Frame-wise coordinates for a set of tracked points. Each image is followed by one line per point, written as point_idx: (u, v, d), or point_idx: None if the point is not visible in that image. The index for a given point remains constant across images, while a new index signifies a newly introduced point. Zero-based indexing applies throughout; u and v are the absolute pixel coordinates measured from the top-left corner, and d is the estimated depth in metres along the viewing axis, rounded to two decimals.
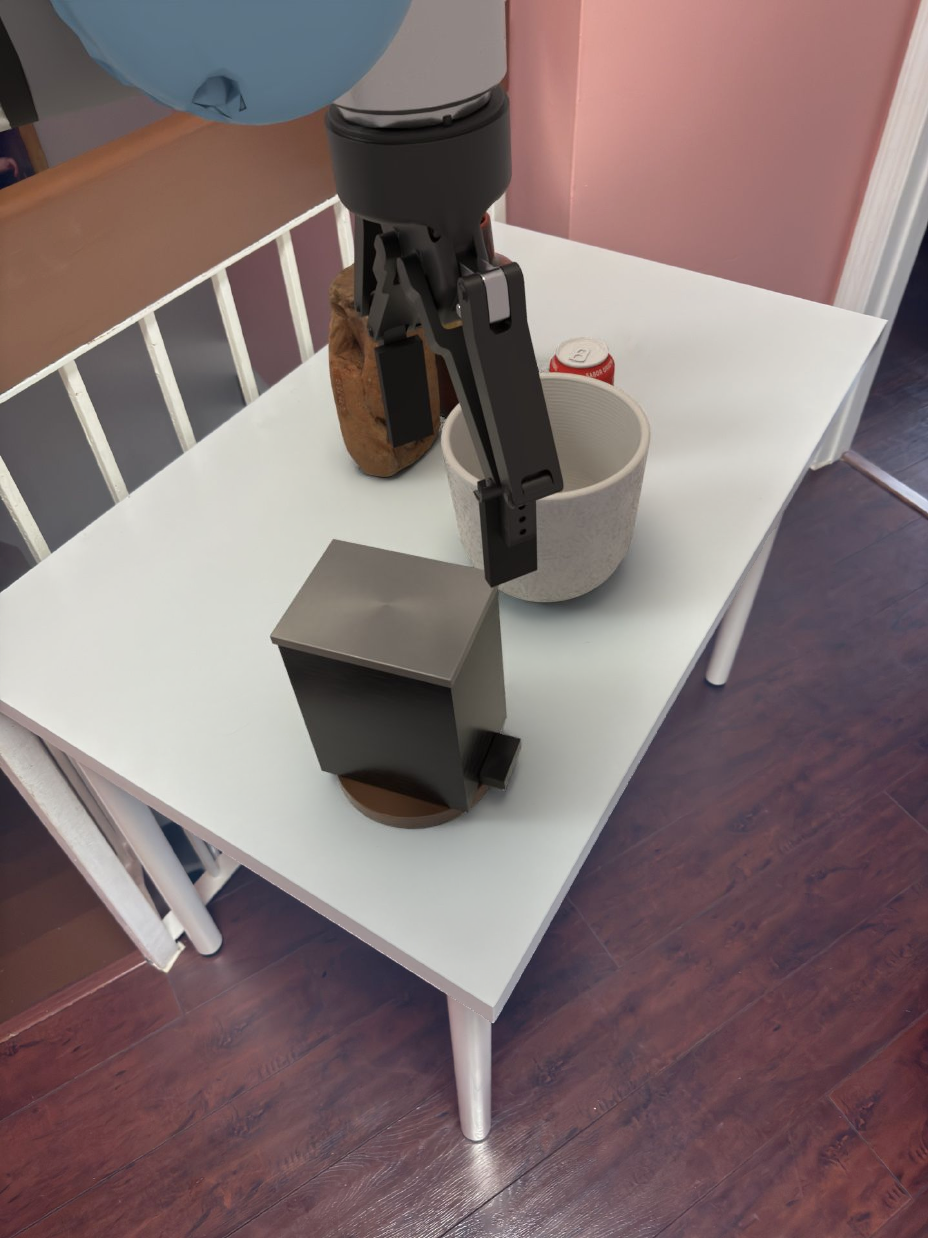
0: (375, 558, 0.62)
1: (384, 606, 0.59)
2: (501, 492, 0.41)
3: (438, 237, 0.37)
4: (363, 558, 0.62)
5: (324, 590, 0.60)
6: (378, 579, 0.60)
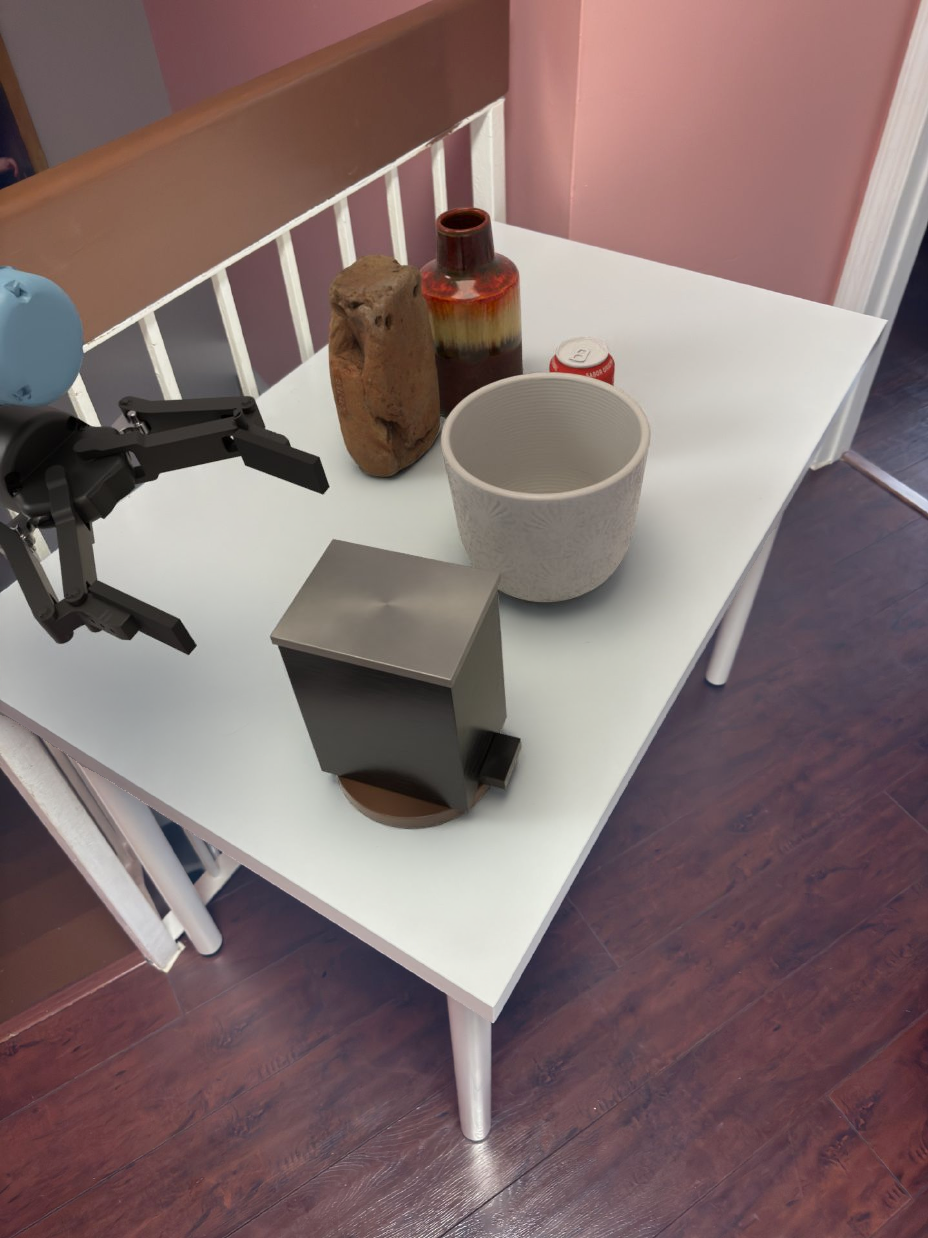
0: (375, 558, 0.62)
1: (384, 606, 0.59)
2: None
3: (89, 427, 0.61)
4: (363, 558, 0.62)
5: (324, 590, 0.60)
6: (378, 579, 0.60)
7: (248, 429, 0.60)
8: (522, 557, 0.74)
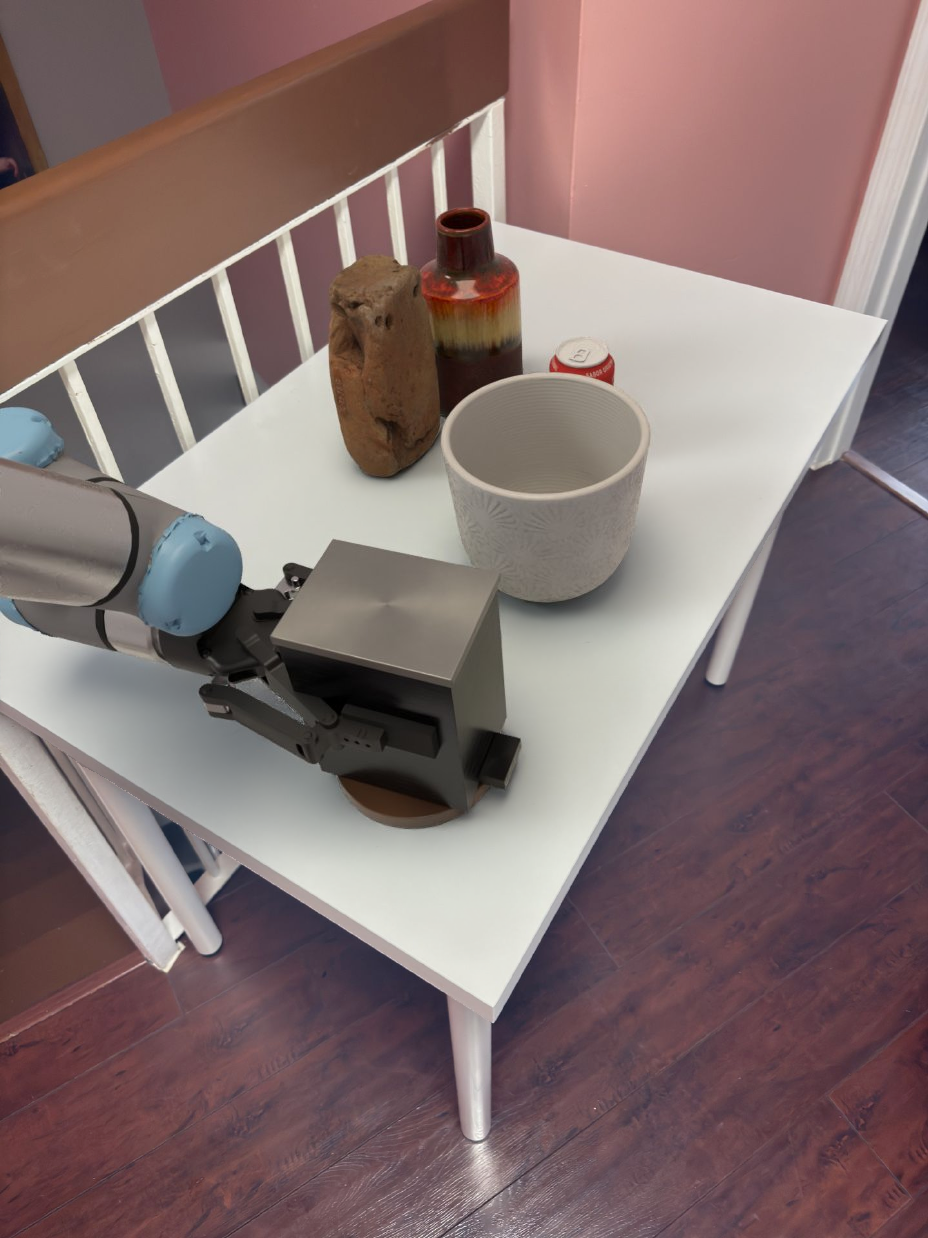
0: (375, 558, 0.62)
1: (384, 606, 0.59)
2: None
3: (252, 591, 0.69)
4: (363, 558, 0.62)
5: (324, 590, 0.60)
6: (378, 579, 0.60)
7: None
8: (522, 557, 0.74)
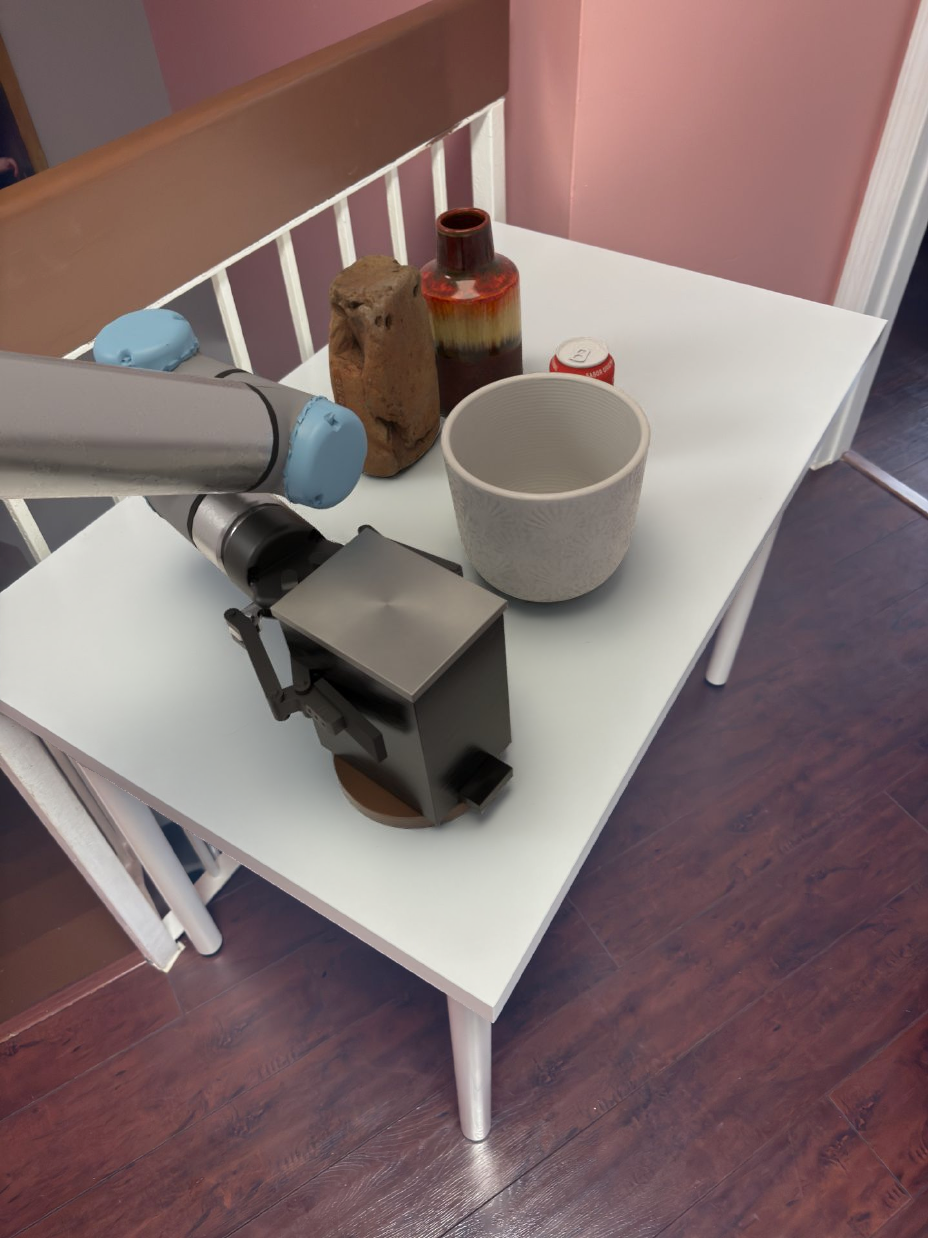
0: (396, 556, 0.62)
1: (383, 605, 0.59)
2: None
3: (324, 540, 0.72)
4: (385, 553, 0.62)
5: (336, 576, 0.61)
6: (389, 577, 0.60)
7: None
8: (522, 557, 0.74)
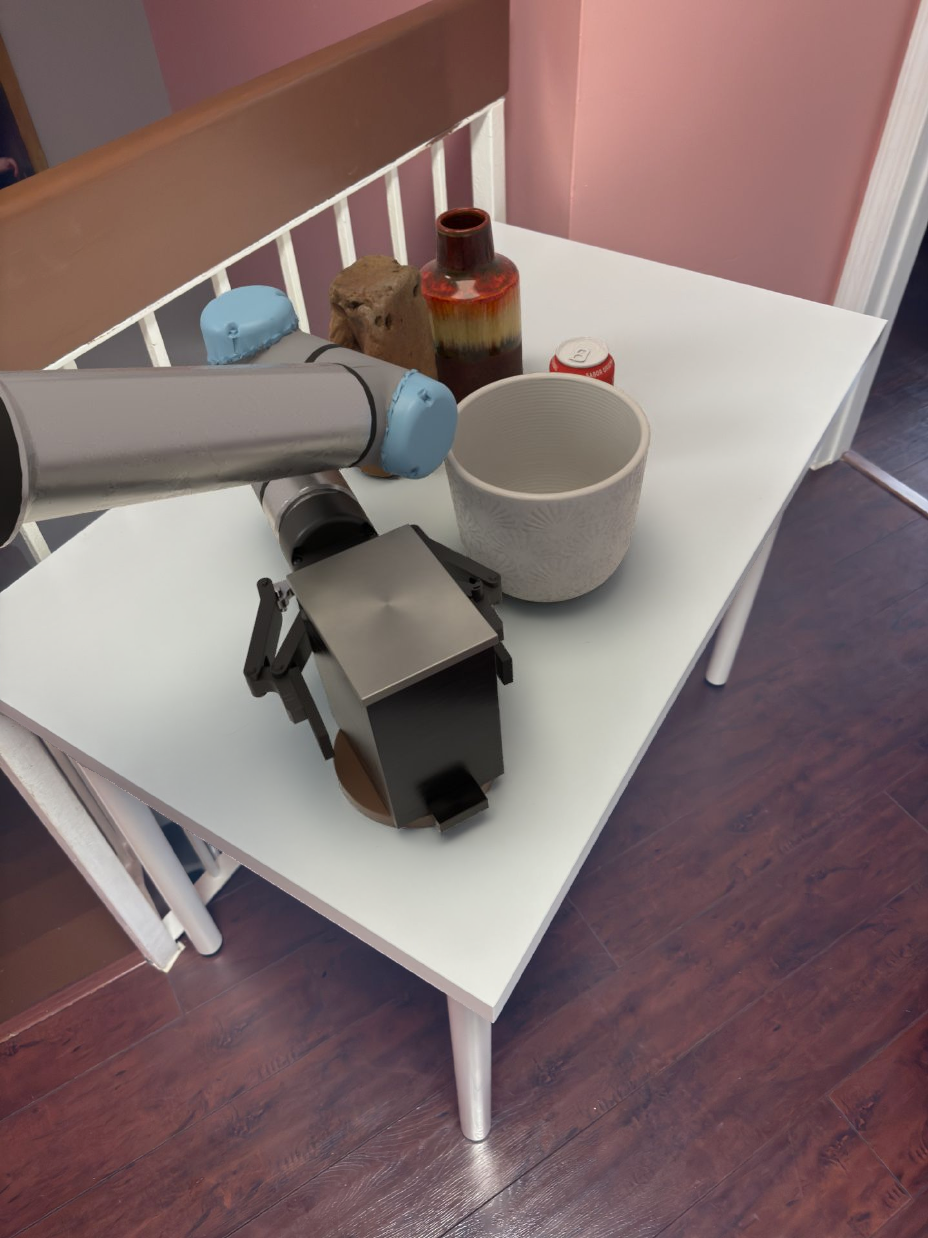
0: (419, 559, 0.61)
1: (383, 604, 0.59)
2: (483, 591, 0.68)
3: (375, 535, 0.73)
4: (411, 554, 0.62)
5: (357, 563, 0.62)
6: (403, 579, 0.60)
7: (480, 601, 0.68)
8: (522, 557, 0.74)
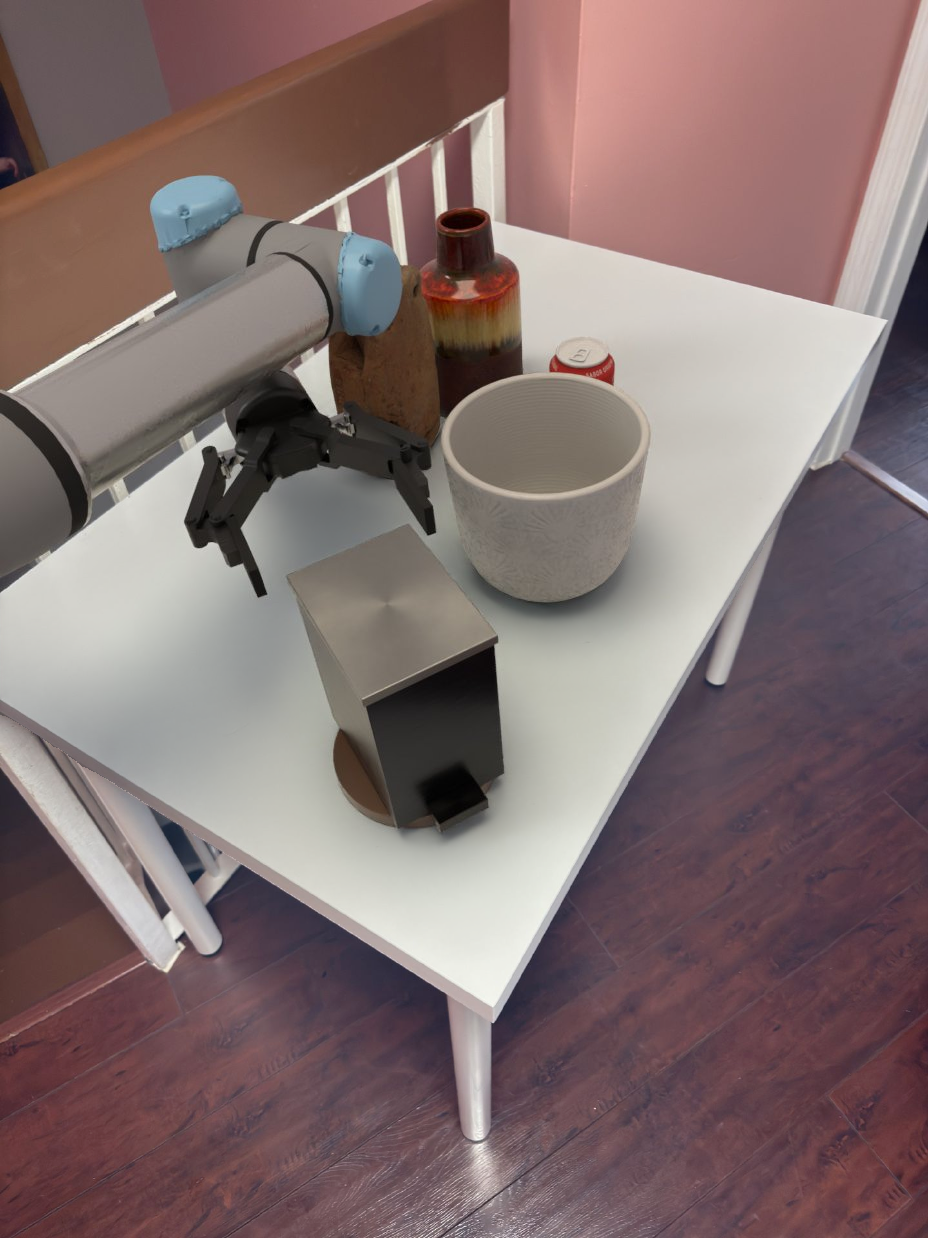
0: (419, 559, 0.61)
1: (383, 604, 0.59)
2: (411, 454, 0.73)
3: (315, 411, 0.78)
4: (411, 554, 0.62)
5: (357, 563, 0.62)
6: (403, 579, 0.60)
7: (409, 463, 0.73)
8: (522, 557, 0.74)
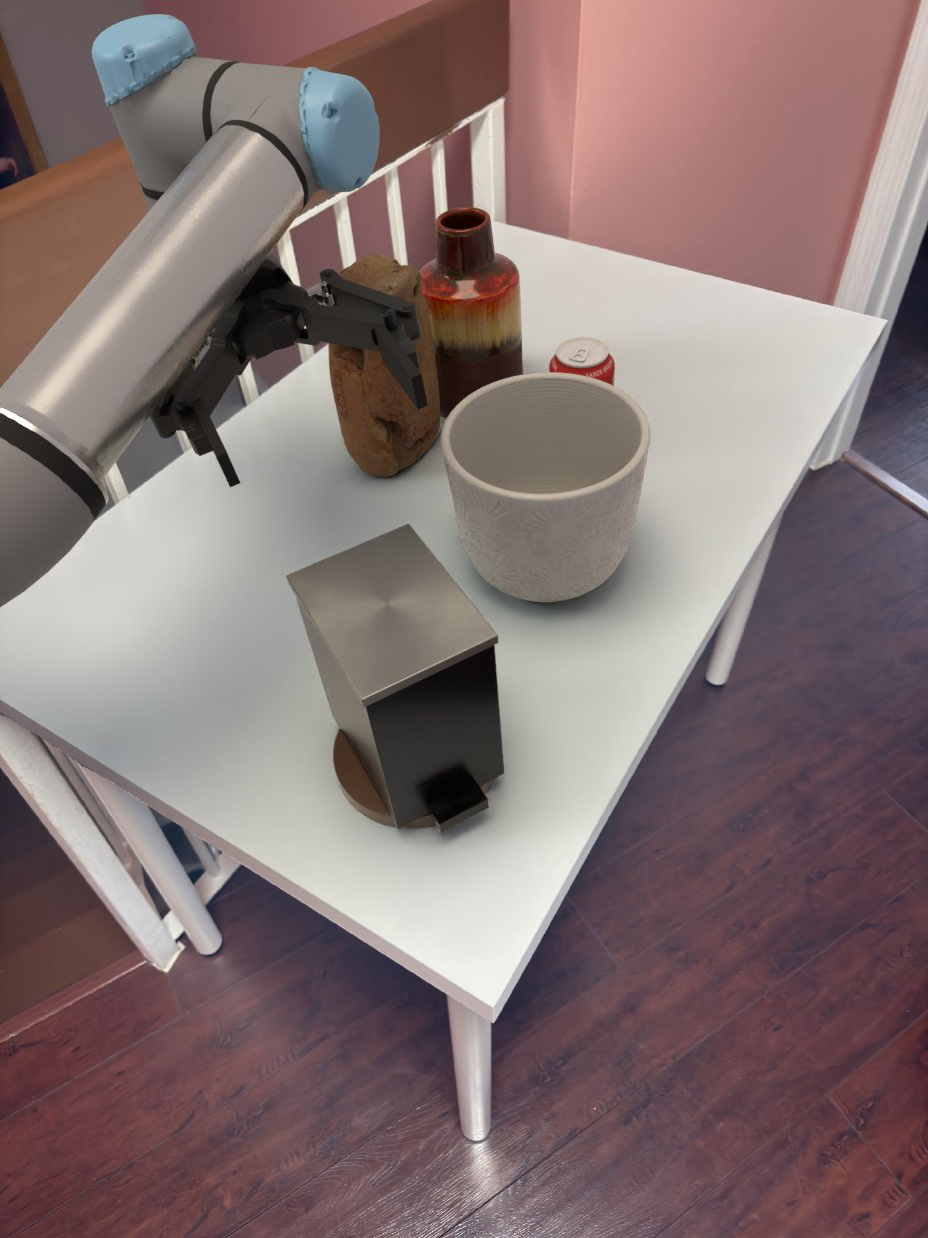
0: (419, 559, 0.61)
1: (383, 604, 0.59)
2: (397, 320, 0.65)
3: None
4: (411, 554, 0.62)
5: (357, 563, 0.62)
6: (403, 579, 0.60)
7: (394, 330, 0.65)
8: (522, 557, 0.74)
